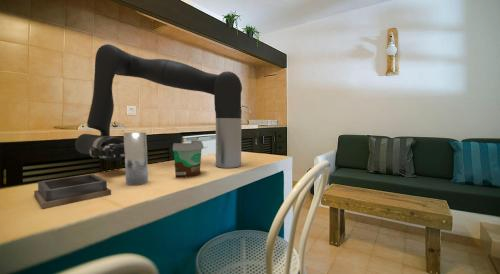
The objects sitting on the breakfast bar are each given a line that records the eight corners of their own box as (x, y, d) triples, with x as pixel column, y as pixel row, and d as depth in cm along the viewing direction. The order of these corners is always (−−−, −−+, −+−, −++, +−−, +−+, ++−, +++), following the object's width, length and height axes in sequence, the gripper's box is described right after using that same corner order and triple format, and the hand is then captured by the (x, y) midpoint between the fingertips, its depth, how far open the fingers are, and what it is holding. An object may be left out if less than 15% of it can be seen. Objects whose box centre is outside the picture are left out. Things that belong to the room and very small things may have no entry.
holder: (95, 184, 58) (94, 173, 57) (111, 194, 50) (110, 180, 50) (34, 195, 49) (33, 181, 49) (42, 208, 42) (41, 192, 42)
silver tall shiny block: (133, 179, 63) (131, 132, 62) (151, 180, 62) (150, 132, 61) (121, 185, 58) (118, 133, 57) (141, 185, 57) (138, 133, 56)
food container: (193, 180, 63) (192, 144, 62) (172, 178, 64) (172, 143, 64) (209, 170, 75) (209, 140, 74) (192, 169, 76) (192, 140, 76)
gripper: (81, 137, 68) (99, 140, 57) (132, 135, 78) (154, 137, 68) (82, 162, 68) (100, 170, 58) (132, 157, 79) (155, 162, 68)
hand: (129, 152), depth 63 cm, fingers open, 8 cm apart
